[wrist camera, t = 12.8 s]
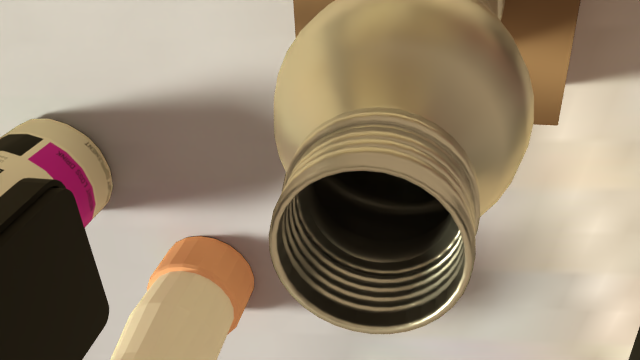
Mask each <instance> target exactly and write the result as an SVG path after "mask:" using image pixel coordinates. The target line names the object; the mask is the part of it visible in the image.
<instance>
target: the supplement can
mask: <svg viewBox="0 0 640 360" xmlns="http://www.w3.org/2000/svg"><path fill="white" fill-rule="evenodd" d="M23 178H40V179H54V180H59V181H61V182H62V183H63V184H64V185H65V187H66V189H68V190H70V191H71V192H72V193H73V195H74V197H75V200H76V203H77V206H78V209H79V212H80V216H81V219H82V222H83V225H84V228H85V227H86V226H87V225H88V224H89V222H90V221H91V220H92V219H93V218H94V217H95V216H96V215H97V214H98V213H99V212H100V211H101V210H102V208H103V207H104V206H105V205H106V204H107V203H108V202H109V200H110V196H111V192H112V188H113V184H112V178H111V172H110V168H109V166H108V164H107V162H106V160H105V159H104V157H103V155H102V153H101V151H100V149H99V148H98V147H97V146H96V145H95V144H94V143H93V142H92V141H91V140H90V139H89V138H88V137H87V136H86V135H84V134H83V133H81V132H79V131H78V130H76V129H75V128H73V127H71V126H70V125H68V124H65V123H61V122H58V121H55V120H52V119H30V120H28V121H26V122H24V123H22V124H20V125H18V126H17V127H15V128H14V129H12V130H11V131H9V132H8V133H6V134H5V135H3V136H2V137H0V196H2V195H3V194H4V193H5V192H6V191H7V190H9V189H10V188H11V187H12V186H13V185H15V184H16V183H17V182H18V181H20V180H21V179H23Z"/></svg>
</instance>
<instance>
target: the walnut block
mask: <svg viewBox="0 0 640 360" xmlns="http://www.w3.org/2000/svg"><path fill="white" fill-rule="evenodd" d="M333 1H335V0H293V3H294V18H295V34H296V37H297V36H298V34H299V33H300V31H301V30H302V29H303V28H304V27H305V26H306V25H307V24H308V23H309V22H310V21H311V20H312V19H313V18H314V17H315V16H316V15H317V14H318V13H319V12H320V11H322V10H323V9H324V8H325V7H326V6H328V5H329V4H330V3H332V2H333ZM579 6H580V0H505V4H504V10H503V15H502V18H501V22H502V24H503V25H504V26H505V27H506V29H507V30H508V31H509V33H510V34H511V35H512V37H513V39H514V41H515V43H516V45H517V47H518V49H519V51H520V54H521V56H522V58H523V60H524V62H525V64H526V66H527V69H528V71H529V76H530V80H531V85H532V89H533V94H534V123H533V124H539V125H558V121H559V115H560V110H561V104H562V99H563V93H564V88H565V82H566V77H567V71H568V66H569V60H570V55H571V49H572V44H573V38H574V33H575V27H576V22H577V16H578V11H579Z"/></svg>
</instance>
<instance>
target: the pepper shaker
mask: <svg viewBox="0 0 640 360" xmlns="http://www.w3.org/2000/svg"><path fill="white" fill-rule="evenodd" d="M253 289H254V276H253V273H252V271H251V268H250V265H249V264H248V263H247V261H246V260H245V259H244V258H243V256H242V255H241V254H240V253H239V252H237V251H236V250H235V249H233V248H232V247H231V246H230V245H228V244H226V243H223V242H221V241H219V240H217V239H213V238H208V237H202V236H197V237H187V238H185V239H183V240H180V241H178V242H176V243H175V244H174V245H173V246H172V248H171V249H170V250H169V251H168V252H167V254H166V255H165V257H164V258H163V260H162V261H161V263H160V264H159V266H158V267H157V268H156V270H155V271H154V273H153V274H152V276H151V277H150V280H149V283H148V287H147V292H146V294H145V295H144V296H143V298H142V299H141V301H140V302H139V303H138V305H137V306H136V307H135V309H134V310H133V311H132V313H131V314H130V316H129V318H128V321H127V323H126V325H125V327H124V330H123V332H122V334H121V336H120V339H119V341H118V343H117V346H116V348H115V350H114V352H113V355H112V357H111V359H110V360H217V357H218V355H219V353H220V350H221V348H222V346H223V343H224V341H225V339H226V336H227V334H229V333H230V332H231V331H232V330H233V329H235V328H236V327H237V324H238V322H239V320H240V318H241V316H242V313H243V311H244V309H245V307H246V305H247V302H248V300H249V298H250V296H251V293H252V291H253Z"/></svg>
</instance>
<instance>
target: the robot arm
mask: <svg viewBox="0 0 640 360" xmlns="http://www.w3.org/2000/svg"><path fill="white" fill-rule="evenodd" d="M108 316H109V305H108V301H107V298H106V295H105V292H104V289H103V285H102V282H101V279H100V276H99V273H98V270H97V266H96V263H95V260H94V257H93V254H92V251H91V247H90V244H89V241H88V238H87V235H86V231H85V228H84V225H83V222H82V219H81V216H80V212H79V209H78V206H77V203H76V200H75V197H74V195H73V193H72V192H71V191H70V190H68V189H66V187H65V185H64V184H63V183H62V182H61V181H59V180H54V179H40V178H23V179H21V180H20V181H18V182H17V183H16V184H15V185H13V186H12V187H11V188H10V189H9V190H7V191H6V192H5V193H4V194H3V195H2V196H0V360H82V359H83V358H84V356H85V355H86V353H87V352H88V350H89V349H90V347H91V346H92V344H93V343H94V341H95V340H96V338H97V337H98V335H99V334H100V333H101V331H102V330H103V328H104V326H105V325H106V323H107V320H108ZM629 360H640V327H639V330H638V333H637V336H636V339H635V342H634V345H633V348H632V351H631V354H630V357H629Z"/></svg>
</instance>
